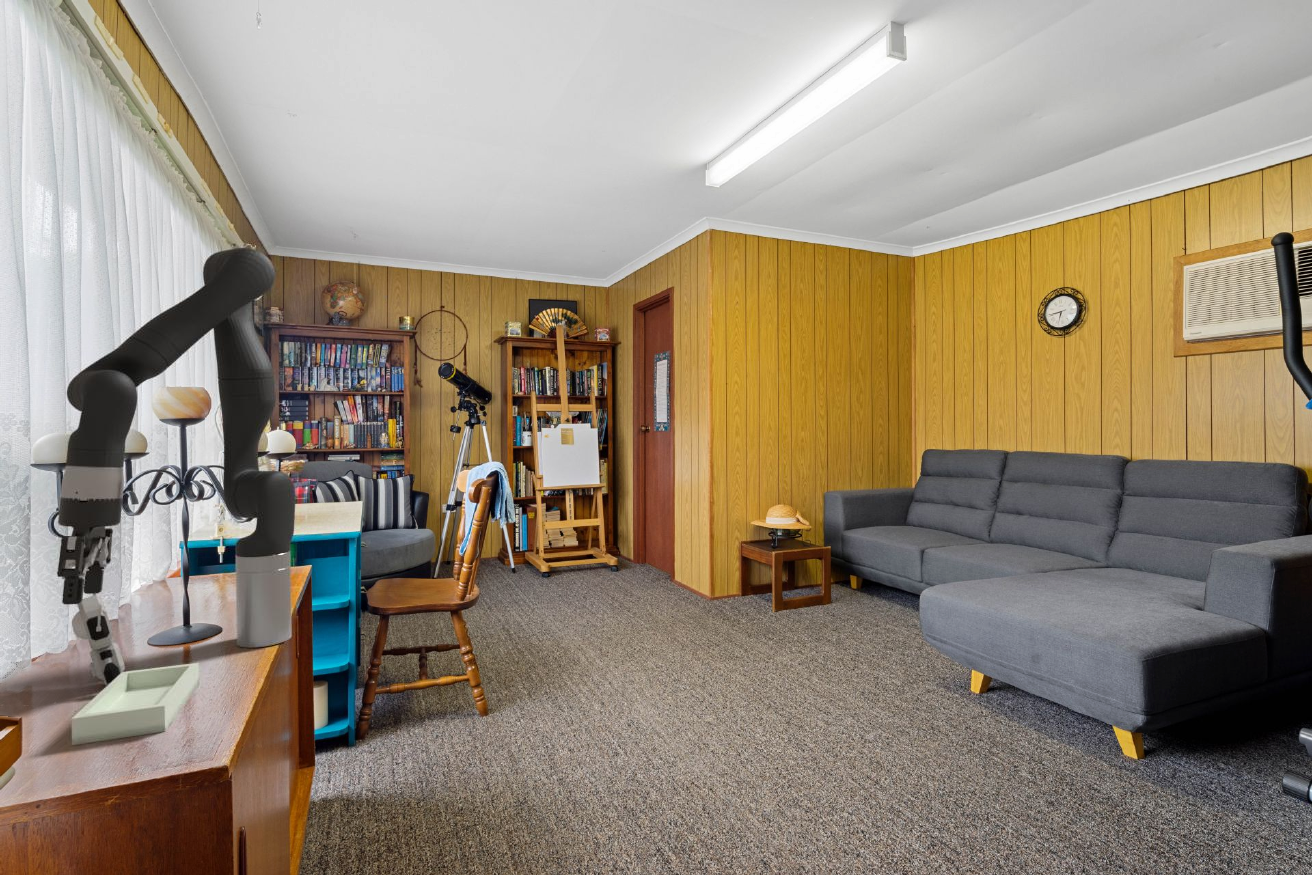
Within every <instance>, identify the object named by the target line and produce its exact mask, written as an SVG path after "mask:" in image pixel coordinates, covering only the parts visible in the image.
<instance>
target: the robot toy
mask: <svg viewBox="0 0 1312 875" xmlns="http://www.w3.org/2000/svg"><path fill="white" fill-rule="evenodd" d="M76 605H77V608H78V610H79V611H78V612H76V613H75V615H74V616H73V618H72V620H71V627H72V631H73V634H74V635H75V636H76V637H77V638H79V639H82V640H88V644H89V646H90V649H91V651H90V652H89V655H90V657H91V658H90V659H91V661H92V662H90V664H89V667H90V671H91V674H92V676H93V677H96V678H97V679H98V680H102V681H103V682H104V686H105V687H107V686H108V685H109V684H110V683H111V682H112V681H113V680H114V679H115V678H116V677H117V676H119V675H120V674H121V673H122V672H125V669H126V666H125V663H124V659H123V656H122V652H121V648H120V646H119V644H118V643H117V642H115V640H116V639H115V636H114V633H113V629H112V626H111V622H110V619H109V616H108V613H107V610H106V606H105V603H104V601H103V599H102V597H101V596H99V595H97V594H92V595H91V596H88V597H85V598H83V600H82V602H81V603H79V604H76Z"/></svg>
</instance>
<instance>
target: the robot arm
mask: <svg viewBox="0 0 1312 875" xmlns="http://www.w3.org/2000/svg"><path fill="white" fill-rule="evenodd" d="M202 271H203V272H202V277H203V279H202V280H203V283H204V284H203V285H202V287H201V288H200V289H198V290H197V291H195V292H193V293H192V294H191V295H189V296H188V297H186V298H184V299H183V300H182V301H180V302H178V303H177V304H175V305H173V306H171V307H169V308H168V309H166V310H164V311H162V312H161V313H159V314H158V315H156V316H155V317H153V318H152V319H150V320H149V321H147V322H146V323H145V324H144V325H142V326H141V327H140V328H138V329H137V330H136V331H135V332H134V333H132V335H130V336H129V337H128V338H126V339H125V340H124V341H123V342H122V343H121V344H120V345H119V346H118V347H116V348H115V349H114V350H112V351H110V352H109V353H107V354H105V355H104V356H102V357H101V358H99V359H97V360H96V361H95V362H92V363H91V364H90V365H88V366H86V367H85V368H84V369H83V370H81V371H80V372H78V373H77V374H76V375H75V376H74V377H73V378H72V380H71V381H70V382H69V383H68V386H67V389H66V396H67V400H68V402H69V404H70V405H71V406H72V408H74V409H75V410H77V411H79V412H81V413H80V417H79V422H78V426H77V428H76V429H75V430H74V431H72V433H71V434H70V436H69V438H68V442H67V452H66V461H65V462H66V463H65V467H64V468H65V469H64V473H63V476H62V482H61V487H60V488H61V489H60V490H61V491H60V500H59V509H58V511H59V512H58V519H57V520H58V521H57V523H58V525H59V526H62V527H68V528H69V527H71V528H72V533H71V535H65V536H62V538H61V540H60V550H59V557H58V566H57V572H56V575H57V577H58V578H61V579H62V580H63V588H62V589H63V590H62V598H61V599H62V601H61V603H62V604H63V605H77V604H79V603H81V602H82V600H83V599H84V598H83V596H84V594H85V595H86V594H87V595H91V594H92V595H93V594H96V595H97V594H99V593H101V592H102V591H103V582H104V573H105V572H104V571H105V570H106V569H107V566H108V565H109V564H110V563H111V561H112V558H111V556H112V543H113V533H114V529H113V528H112V527H113V526H114V527H115V526H118V525H120V524H121V522H122V521H121V520H122V519H121V518H122V510H123V509H122V508H123V498H124V497H123V496H124V487H125V486H124V485H125V475H124V465H125V464H124V463H125V456H126V455H125V454H126V440H127V436H128V435H129V433H130V430H131V426H132V423H133V421H134V417H135V414H136V410H137V406H138V405H137V403H138V391H137V388H138V387H139V386H140V385H142V384H143V383H144V382H145V381H148V380H150V379H153V378H156V377H158V376H159V375H161V374H163V373H164V372H165V371H167V369H168V368H170V366H172V365H173V364H175V362H176V361H177V360H179V359H180V358H181V357H182V356H183V355H184V354H185V353H186V352H187V351H189V349H191V348H192V347H193V346H194V345H195V344H197V343H198V341H200V339H202V338H203V337H204V336H205V335H207V334H208V333H209V332H210V331H212V330H213V337H214V338H213V339H214V350H215V357H216V369H217V386H218V393H219V394H218V396H219V402H220V403H219V404H220V410H221V419H222V433H223V484H222V485H223V486H222V488H223V496H224V497H223V498H224V503H225V506H226V508H227V510H228V511H229V513H231V515H233V516H235V517H237V518H242V519H243V518H244V519H256V526H255V530H254V531H253V532H252V533H250V534H249V535H246V536H244V537H241V538H240V539H237V541H236V543H235V548H234V549H235V597H236V598H235V599H236V600H235V601H236V602H235V605H236V608H235V609H236V611H235V612H236V645H237V646H238V647H241V648H248V649H249V648H261V647H268V646H274V645H276V644H277V645H278V644H281V643H283V642H286V641H288V640H290V639H292V631H293V630H292V578H291V576H292V575H291V572H292V570H291V568H292V567H291V543H292V540H293V538H294V534H295V519H296V518H295V517H296V515H295V514H296V490H295V485H294V482H293V480H292V477H291V476H290V475H289V474H288V473H286V472H285V471H280V470H260V468H259V467H260V466H259V444H260V440H261V438H262V435H263V433H264V431H265V429H266V427H267V426H268V423H269V421H270V419H271V418H272V415H273V413H274V410H275V407H276V402H277V400H276V399H277V395H276V384H275V374H274V369H273V366H272V363H271V360H270V358H269V356H268V354H267V351H266V350H265V348H264V345H263V344H262V342H261V340H260V339H259V336H258V333H257V331H256V329H255V324H254V315H253V301H255V300H257V299H258V298H260V297H262V296H264V295H265V294H266V293H268V292H269V291H270V290H271V289H272V287H273V286H274V284H275V280H276V279H275V278H276V271H275V268H274V264H273V262H272V261H271V260H270V259H269V257H268V256H267V255H265V254H264V253H263V252H261V251H259V250H258V249H254V248H250V247H237V248H236V247H235V248H232V249H231V248H230V249H226V250H220V251H217V252H214V253H212V254H211V255H210V256H208V257H207V259H206V260H205V262H204V264H203V268H202ZM109 527H110V528H109Z"/></svg>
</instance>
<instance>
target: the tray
mask: <svg viewBox="0 0 1312 875" xmlns="http://www.w3.org/2000/svg"><path fill="white" fill-rule="evenodd" d="M199 686H200V662H195V663H194V662H193V663H186V664H179V665H178V664H177V665H171V666H170V665H169V666H161V667H153V668H144V669H136V670H135V669H134V670H129V671H123V672H122V673H121V674H120V675H119V676H117V677H116V678H115V679H114V680H113V681H112V682H111V683H110V684H109V685H106V686H105V687H104V688H103V689H102V690H101V691H100V692H98V694H97V695H96V696H94V697H93V698H92V699H91V700H90V701H89V702H87V704H85V706H84V707H82V708H81V709H80V710H79V711H78V712H77V713H76V714H75V715H74V716H73V717H71V745H72V746H77V745H83V744H84V745H85V744H90V743H97V742H98V743H99V742H104V741H110V740H117V739H124V738H130V737H136V736H138V737H139V736H142V735H143V736H144V735H149V734H150V735H151V734H154V733H155V734H156V733H163V732H166V731H167V730H168V729H169V727H170V725H171V724H172V723H173V722H174V720H175V718H176V717H177V715H179V713H180V712H181V710H182V709H183V708H184V707H185V705H186V703H187V702H188V700H190V698H191V697H192V695H193V694H194V692H195V691H196V689H197V688H198V687H199Z"/></svg>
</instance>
